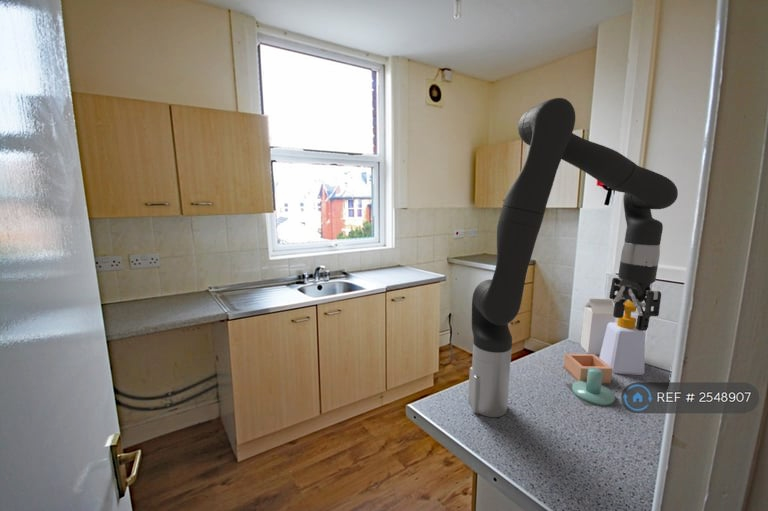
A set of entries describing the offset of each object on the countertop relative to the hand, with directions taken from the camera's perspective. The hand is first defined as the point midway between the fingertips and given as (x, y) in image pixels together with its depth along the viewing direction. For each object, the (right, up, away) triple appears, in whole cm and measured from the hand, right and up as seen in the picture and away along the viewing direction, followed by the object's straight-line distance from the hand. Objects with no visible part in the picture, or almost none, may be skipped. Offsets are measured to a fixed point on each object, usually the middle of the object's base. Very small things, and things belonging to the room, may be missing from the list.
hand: (629, 323), depth 87 cm
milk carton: (+12, -16, +33) cm, 38 cm away
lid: (-6, -21, +6) cm, 22 cm away
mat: (-6, -21, +6) cm, 23 cm away
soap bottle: (+13, -18, +23) cm, 32 cm away
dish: (-1, -19, +16) cm, 25 cm away
